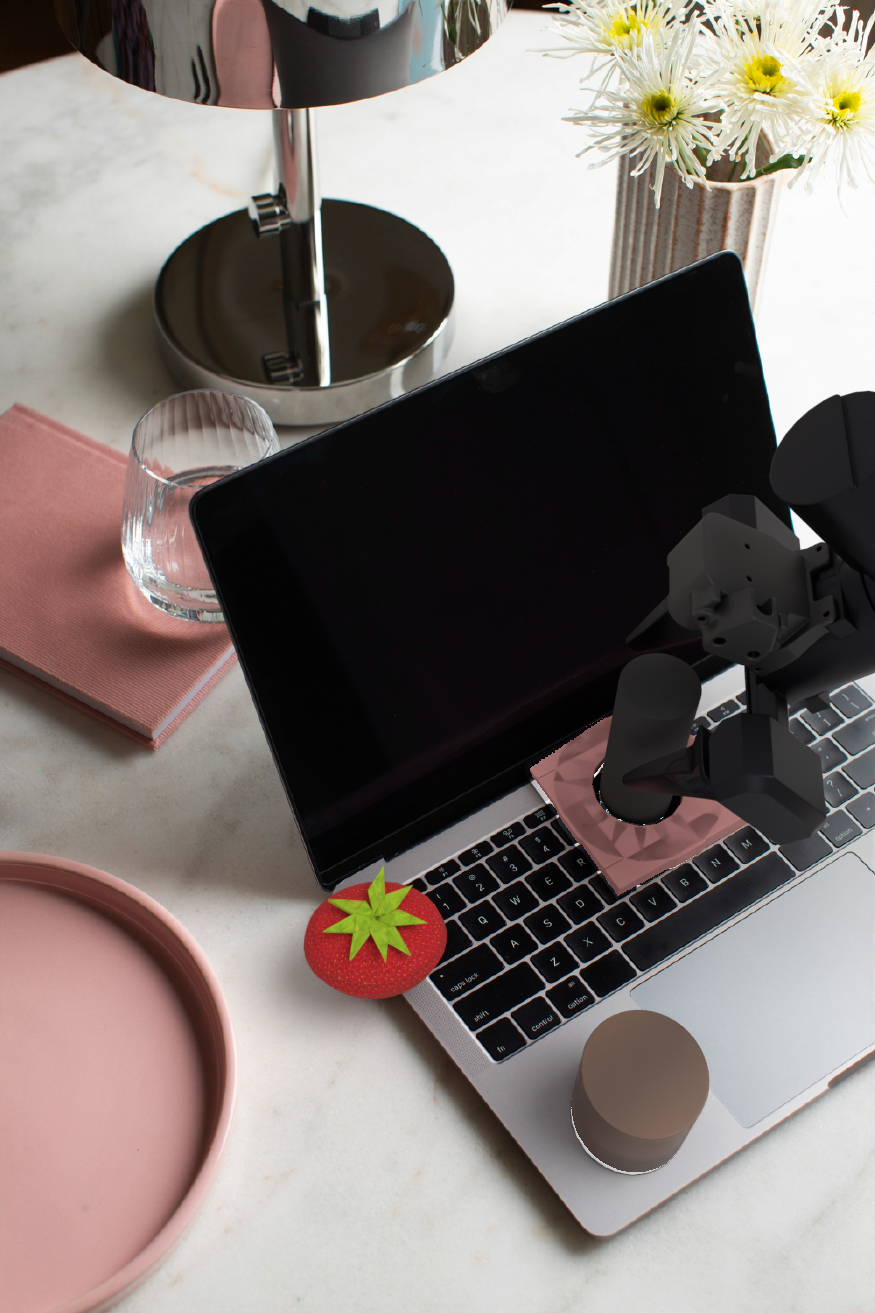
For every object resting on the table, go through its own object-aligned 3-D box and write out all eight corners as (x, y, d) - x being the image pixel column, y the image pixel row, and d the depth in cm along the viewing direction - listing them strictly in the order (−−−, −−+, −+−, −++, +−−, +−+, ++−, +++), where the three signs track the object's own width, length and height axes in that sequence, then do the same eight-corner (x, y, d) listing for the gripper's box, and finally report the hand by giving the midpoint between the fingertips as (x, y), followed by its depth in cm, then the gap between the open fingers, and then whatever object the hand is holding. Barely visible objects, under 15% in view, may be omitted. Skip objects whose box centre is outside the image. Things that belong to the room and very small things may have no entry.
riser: (710, 1134, 58) (736, 1095, 53) (614, 1199, 56) (631, 1165, 51) (640, 1034, 61) (657, 987, 56) (547, 1092, 60) (555, 1050, 54)
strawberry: (312, 935, 65) (290, 855, 57) (442, 920, 65) (438, 838, 57) (316, 1037, 62) (294, 967, 54) (454, 1021, 62) (452, 949, 54)
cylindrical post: (673, 829, 69) (707, 719, 59) (601, 829, 69) (622, 720, 59) (665, 767, 71) (696, 652, 62) (595, 767, 71) (615, 652, 62)
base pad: (753, 822, 69) (758, 810, 68) (616, 903, 66) (618, 892, 65) (651, 703, 74) (654, 690, 73) (520, 773, 71) (520, 760, 70)
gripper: (782, 367, 55) (541, 511, 64) (813, 680, 43) (515, 797, 53) (900, 495, 60) (661, 610, 70) (954, 801, 49) (661, 887, 59)
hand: (627, 712), depth 63 cm, fingers open, 9 cm apart
